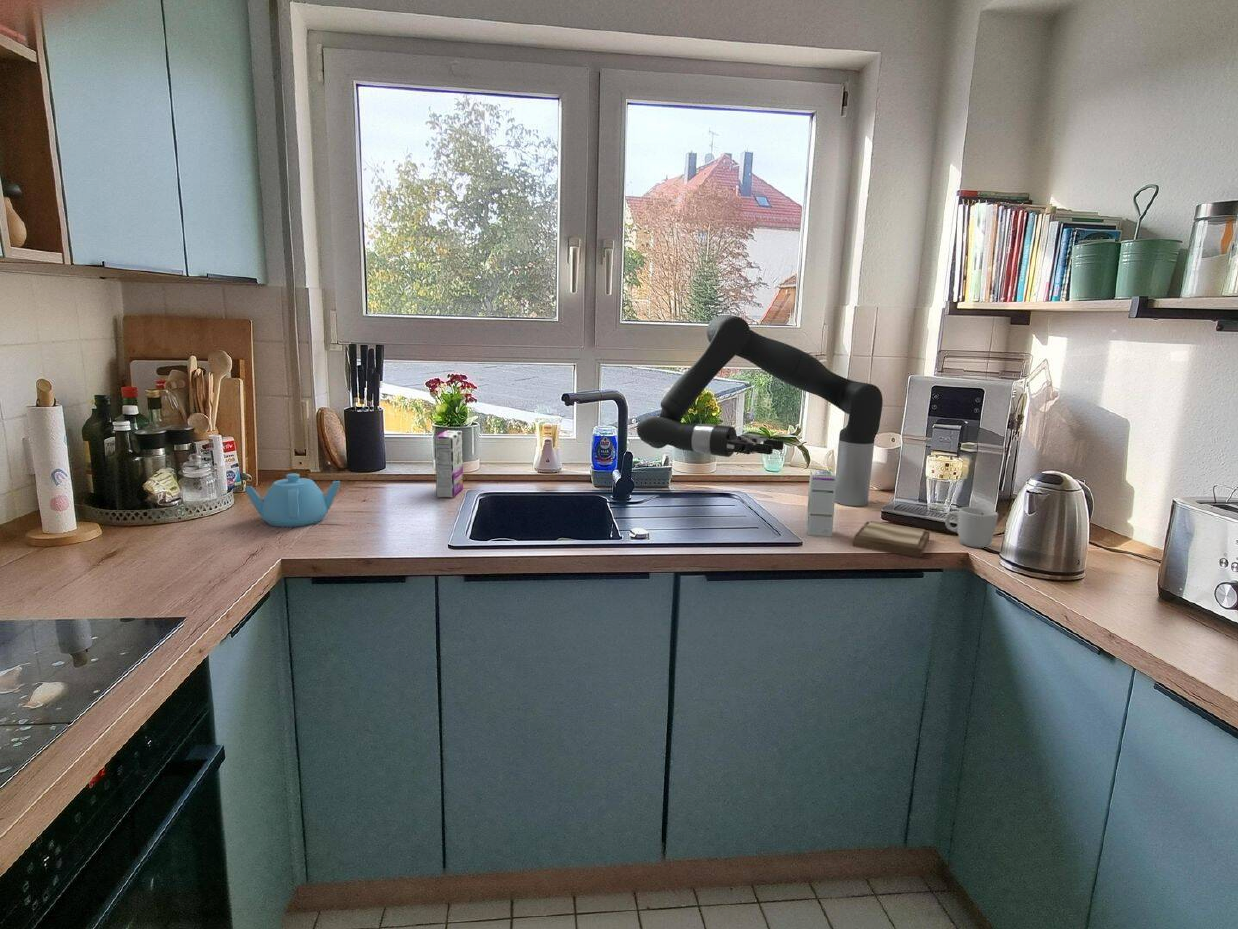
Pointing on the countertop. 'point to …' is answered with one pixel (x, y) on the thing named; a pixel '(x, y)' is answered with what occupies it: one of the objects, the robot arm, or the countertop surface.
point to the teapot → (293, 501)
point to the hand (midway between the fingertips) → (777, 447)
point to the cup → (974, 526)
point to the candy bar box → (448, 464)
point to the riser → (892, 538)
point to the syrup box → (821, 503)
